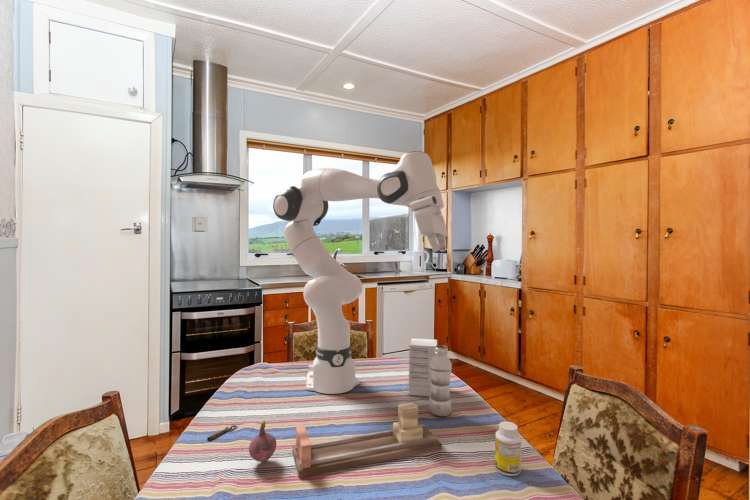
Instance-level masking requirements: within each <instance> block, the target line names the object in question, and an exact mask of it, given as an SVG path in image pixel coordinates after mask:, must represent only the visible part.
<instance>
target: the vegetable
mask: <svg viewBox="0 0 750 500" xmlns="http://www.w3.org/2000/svg"><path fill="white" fill-rule="evenodd" d="M265 428H266V420H263V422H262V423H261V425H260V427H259V433H258V434H257V435H256V436H255V437H254V438H252V440H251V441H250V443H249V446H248V453H249V456H250V457H251V458H252V460H254V461H256V462H260V464H264V463H266V462H268V461H269V460H270V458H272V456H273V455H274V453H275V452H276V449H277V439H276V438H275V436H274V435H273V434H271V433H270V432H266V431H265Z"/></svg>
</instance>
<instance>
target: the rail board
mask: <svg viewBox="0 0 750 500" xmlns="http://www.w3.org/2000/svg"><path fill="white" fill-rule="evenodd" d="M419 425H420V426H421V427H422V428H423V439H420V440H414V441H409V442H403V443H399V442H398V440H397V439H396V438H395V437H394V435H393V429H388V430H382V431H377V432H370V433H364V434H360V435H353V436H348V437H342V438H335V439H329V440H323V441H316V442H311V441H310V437H309V436H308V433H307V429H306V427H305V425H299V426H296V427H295V446H292V457H293V461H294V464H295V468H296V473H297V476H298V479H300V478H303V477H309V476H315V475H320V474H325V473H329V472H334V471H335V472H336V471H339V470H344V469H349V468H355V467H360V466H365V465H370V464H376V463H381V462H384V461H391V460H395V459H396V460H397V459H400V458H406V457H410V456H415V455H420V454H427V453H431V452H435V451H441V450H443V443H442V442H441V441H440V440H439V438H438V436H436V435H434V434H433V433H432V431H430V430H429V429H428V428H427V426H426V425H425V424H423V423H422V424H419Z"/></svg>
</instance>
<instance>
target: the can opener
mask: <svg viewBox="0 0 750 500" xmlns="http://www.w3.org/2000/svg"><path fill="white" fill-rule="evenodd" d="M232 428H233V429H232ZM238 428H239V425H237V426H236V424H233V425H231V426H225V428H224V429H222V430H219V431H218V432H215V433H212V434H211V435H210V436H208V437H206V438H207V439H206V440H207V441H208V442H211V441H213V440H215V439H216V438H218V437H220V436H221V435H224V434H226V433H227V432H232V431H236V430H237V429H238Z"/></svg>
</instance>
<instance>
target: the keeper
mask: <svg viewBox="0 0 750 500" xmlns="http://www.w3.org/2000/svg"><path fill="white" fill-rule="evenodd" d="M397 407H398V408H397V409H398V411H397V413H398V414H397V420H398V421H397V422H393V423H392V430H393V435H394V437H395V438H396V439H397V440H398V442H399V443H403V442H409V441H414V440H420V439H423V428H422V427H421V426H420V425H421V424H420V423H419V420H418V417H419V415H418V414H419V413H418V412H419V407H418V406H417V405H416V404H415V403H414V402H407V403H402V404H401V403H400V404H398V406H397Z"/></svg>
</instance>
